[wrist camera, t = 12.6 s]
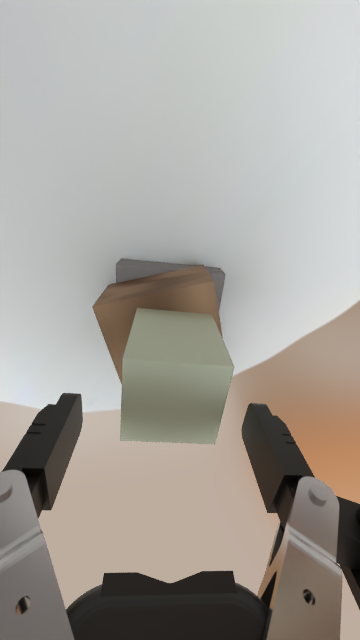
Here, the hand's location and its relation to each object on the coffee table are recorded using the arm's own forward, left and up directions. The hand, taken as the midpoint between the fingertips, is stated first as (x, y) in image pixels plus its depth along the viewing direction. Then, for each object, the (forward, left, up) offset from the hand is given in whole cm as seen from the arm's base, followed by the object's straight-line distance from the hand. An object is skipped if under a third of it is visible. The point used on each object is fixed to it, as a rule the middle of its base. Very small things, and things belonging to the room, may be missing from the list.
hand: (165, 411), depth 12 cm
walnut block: (0, 0, -11) cm, 11 cm away
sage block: (0, 0, -6) cm, 6 cm away
